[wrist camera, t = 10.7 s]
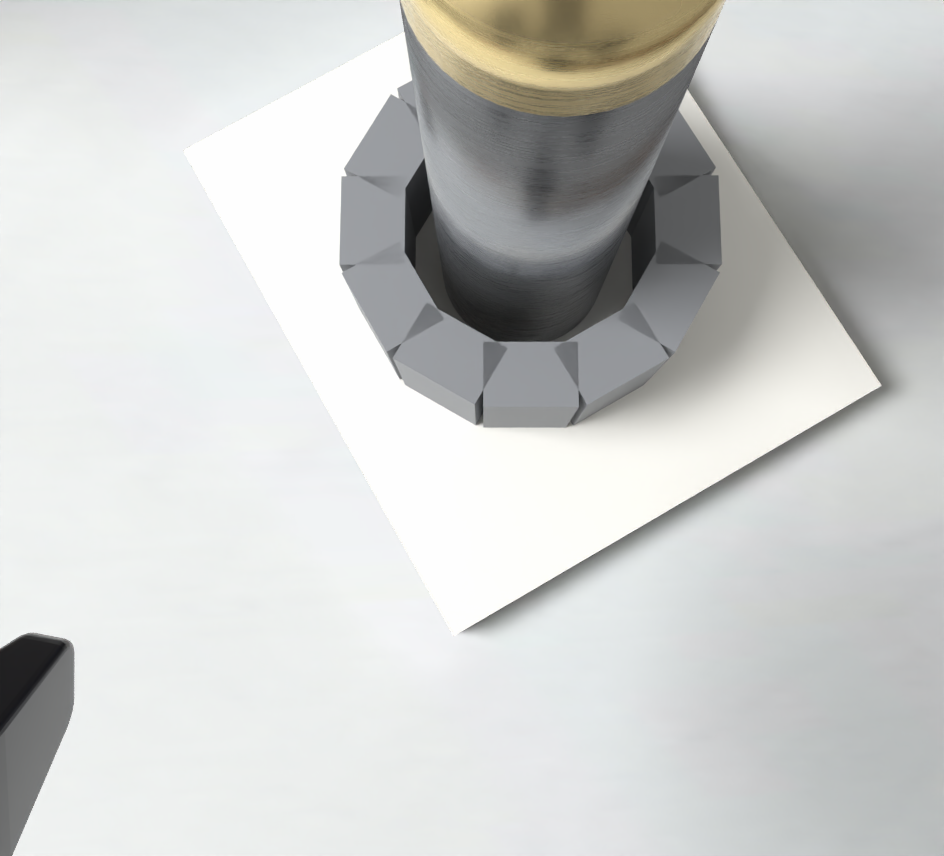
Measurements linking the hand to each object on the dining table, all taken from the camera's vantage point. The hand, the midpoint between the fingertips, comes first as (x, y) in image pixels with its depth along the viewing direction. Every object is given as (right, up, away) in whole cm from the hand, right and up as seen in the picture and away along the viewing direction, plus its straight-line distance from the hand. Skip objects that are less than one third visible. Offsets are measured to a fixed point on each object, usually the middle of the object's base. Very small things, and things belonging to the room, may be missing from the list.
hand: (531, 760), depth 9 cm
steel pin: (+1, +7, +13) cm, 15 cm away
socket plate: (+1, +7, +14) cm, 16 cm away
